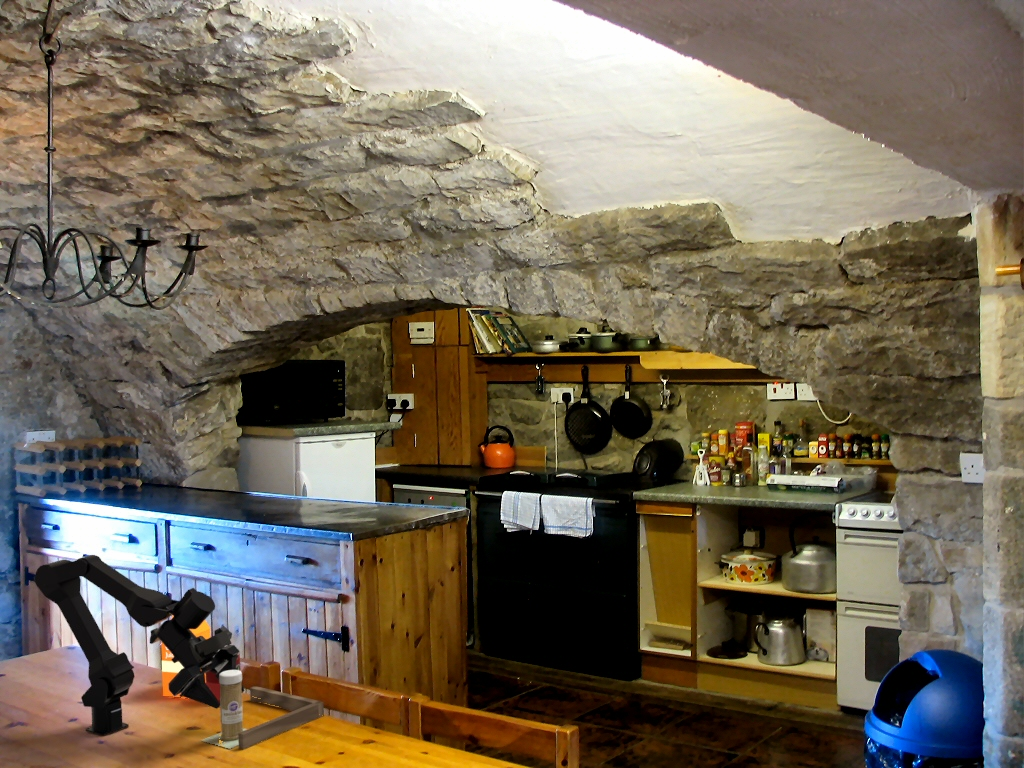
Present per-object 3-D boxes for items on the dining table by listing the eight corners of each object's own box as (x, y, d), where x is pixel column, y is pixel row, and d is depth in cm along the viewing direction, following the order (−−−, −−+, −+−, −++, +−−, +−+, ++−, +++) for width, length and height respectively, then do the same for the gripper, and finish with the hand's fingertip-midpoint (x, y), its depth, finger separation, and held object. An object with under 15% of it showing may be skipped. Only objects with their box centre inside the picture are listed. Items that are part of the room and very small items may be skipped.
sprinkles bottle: (227, 742, 194) (225, 677, 194) (217, 737, 198) (215, 672, 198) (247, 736, 197) (245, 671, 197) (237, 731, 201) (235, 667, 201)
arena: (168, 731, 203) (167, 717, 203) (255, 699, 222) (255, 686, 222) (237, 752, 190) (237, 737, 190) (323, 715, 209) (323, 702, 209)
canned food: (231, 704, 218) (229, 657, 218) (199, 703, 220) (198, 656, 220) (247, 693, 226) (245, 647, 226) (216, 692, 228) (215, 646, 228)
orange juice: (162, 696, 226) (159, 612, 226) (186, 684, 234) (183, 603, 234) (190, 699, 224) (187, 614, 224) (213, 687, 232) (210, 605, 232)
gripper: (179, 629, 190) (230, 688, 187) (230, 607, 208) (277, 660, 205) (146, 666, 192) (196, 725, 189) (199, 641, 210) (245, 694, 207)
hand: (231, 699), depth 197 cm, fingers open, 9 cm apart
